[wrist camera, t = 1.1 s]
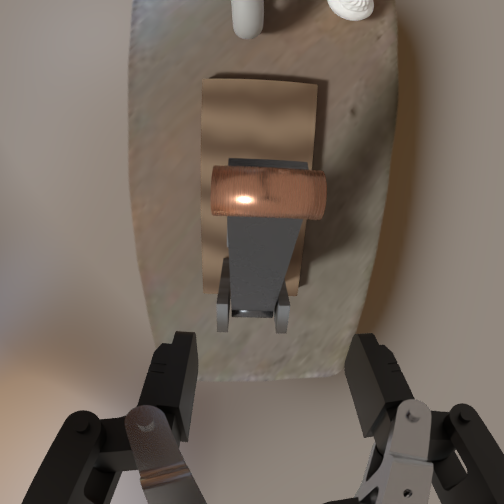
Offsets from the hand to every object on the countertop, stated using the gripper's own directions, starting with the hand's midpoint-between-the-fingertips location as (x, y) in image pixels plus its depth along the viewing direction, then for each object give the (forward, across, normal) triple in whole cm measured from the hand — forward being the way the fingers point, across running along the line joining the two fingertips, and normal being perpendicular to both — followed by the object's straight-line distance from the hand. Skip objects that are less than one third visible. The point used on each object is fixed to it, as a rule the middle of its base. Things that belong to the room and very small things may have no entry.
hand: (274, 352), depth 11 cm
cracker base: (+32, 0, +2) cm, 32 cm away
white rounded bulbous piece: (+32, -11, -26) cm, 42 cm away
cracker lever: (+19, 0, +2) cm, 19 cm away
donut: (+32, +2, -23) cm, 39 cm away
